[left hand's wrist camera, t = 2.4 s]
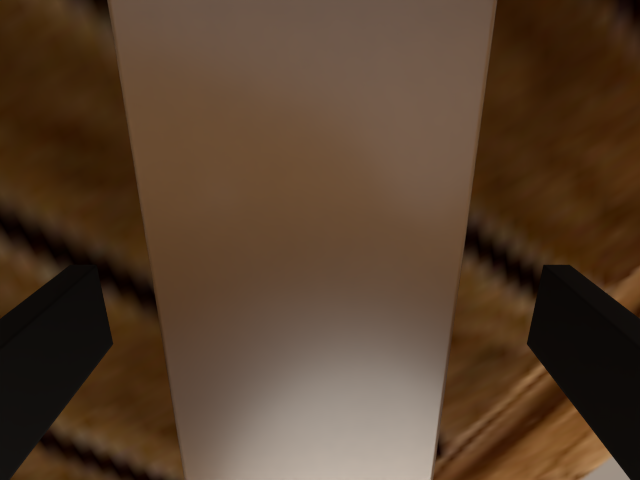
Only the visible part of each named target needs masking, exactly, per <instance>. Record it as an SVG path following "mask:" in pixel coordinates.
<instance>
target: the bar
mask: <svg viewBox="0 0 640 480" xmlns="http://www.w3.org/2000/svg"><path fill="white" fill-rule="evenodd" d="M107 1H108V7H109V14H110V20H111V26H112V32H113V38H114V45H115V51H116V57H117V63H118V69H119V75H120V82H121V88H122V94H123V100H124V106H125V113H126V119H127V125H128V131H129V137H130V144H131V150H132V156H133V162H134V168H135V175H136V181H137V187H138V193H139V199H140V205H141V212H142V218H143V224H144V230H145V236H146V243H147V249H148V255H149V261H150V267H151V274H152V280H153V286H154V292H155V298H156V305H157V311H158V317H159V323H160V329H161V335H162V342H163V348H164V354H165V360H166V366H167V373H168V379H169V385H170V391H171V397H172V404H173V410H174V416H175V422H176V428H177V434H178V441H179V447H180V453H181V459H182V465H183V472H184V478H185V480H433V474H434V467H435V459H436V452H437V444H438V437H439V430H440V422H441V415H442V407H443V400H444V392H445V385H446V378H447V370H448V363H449V355H450V348H451V341H452V333H453V326H454V318H455V311H456V303H457V296H458V289H459V281H460V274H461V266H462V259H463V251H464V244H465V237H466V229H467V222H468V214H469V207H470V199H471V192H472V185H473V177H474V170H475V162H476V155H477V147H478V140H479V133H480V125H481V118H482V110H483V103H484V95H485V88H486V81H487V73H488V66H489V58H490V51H491V44H492V36H493V29H494V21H495V14H496V6H497V0H107Z"/></svg>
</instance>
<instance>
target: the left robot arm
mask: <svg viewBox="0 0 640 480" xmlns="http://www.w3.org/2000/svg"><path fill="white" fill-rule="evenodd" d="M112 345H113V341H112V336H111V332H110V327H109V322H108V317H107V313H106V308H105V303H104V298H103V294H102V289H101V284H100V279H99V274H98V270H97V265H70V266H68V267H67V268H66V269H64V270H63V271H62V272H61V273H59V274H58V275H57V276H55V277H54V278H53V279H51V280H50V281H49V282H48V283H46V284H45V285H44V286H42V287H41V288H40V289H38V290H37V291H36V292H35V293H33V294H32V295H31V296H29V297H28V298H27V299H25V300H24V301H23V302H22V303H20V304H19V305H18V306H16V307H15V308H14V309H12V310H11V311H10V312H9V313H7V314H6V315H5V316H3V317H2V318H1V319H0V480H10V478H11V477H12V476H13V474H14V473H15V472H16V471H17V469H18V468H19V467H20V465H21V464H22V463H23V461H24V460H25V459H26V457H27V456H28V455H29V454H30V452H31V451H32V450H33V448H34V447H35V446H36V444H37V443H38V442H39V440H40V439H41V438H42V436H43V435H44V434H45V433H46V431H47V430H48V429H49V427H50V426H51V425H52V423H53V422H54V421H55V419H56V418H57V417H58V416H59V414H60V413H61V412H62V410H63V409H64V408H65V406H66V405H67V404H68V402H69V401H70V400H71V398H72V397H73V396H74V395H75V393H76V392H77V391H78V389H79V388H80V387H81V385H82V384H83V383H84V381H85V380H86V379H87V378H88V376H89V375H90V374H91V372H92V371H93V370H94V368H95V367H96V366H97V364H98V363H99V362H100V361H101V359H102V358H103V357H104V355H105V354H106V353H107V351H108V350H109V349H110V347H111V346H112ZM527 345H528V346H529V347H530V349H531V350H532V351H533V353H534V354H535V355H536V357H537V358H538V359H539V361H540V362H541V363H542V364H543V366H544V367H545V368H546V370H547V371H548V372H549V374H550V375H551V376H552V378H553V379H554V380H555V381H556V383H557V384H558V385H559V387H560V388H561V389H562V391H563V392H564V393H565V395H566V396H567V397H568V399H569V400H570V401H571V402H572V404H573V405H574V406H575V408H576V409H577V410H578V412H579V413H580V414H581V416H582V417H583V418H584V419H585V421H586V422H587V423H588V425H589V426H590V427H591V429H592V430H593V431H594V433H595V434H596V435H597V436H598V438H599V439H600V440H601V442H602V443H603V444H604V446H605V447H606V448H607V450H608V451H609V452H610V454H611V455H612V456H613V457H614V459H615V460H616V461H617V463H618V464H619V465H620V467H621V468H622V469H623V470H624V472H625V473H626V474H627V476H628V477H629V478H630V480H640V319H639V318H638V317H637V316H635V315H634V314H633V313H631V312H630V311H629V310H628V309H626V308H625V307H624V306H622V305H621V304H620V303H618V302H617V301H616V300H615V299H613V298H612V297H611V296H609V295H608V294H607V293H605V292H604V291H603V290H602V289H600V288H599V287H598V286H596V285H595V284H594V283H592V282H591V281H590V280H589V279H587V278H586V277H585V276H583V275H582V274H581V273H579V272H578V271H577V270H576V269H574V268H573V267H572V266H570V265H543V270H542V274H541V279H540V284H539V289H538V294H537V298H536V303H535V308H534V313H533V317H532V322H531V327H530V332H529V336H528V341H527Z"/></svg>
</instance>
